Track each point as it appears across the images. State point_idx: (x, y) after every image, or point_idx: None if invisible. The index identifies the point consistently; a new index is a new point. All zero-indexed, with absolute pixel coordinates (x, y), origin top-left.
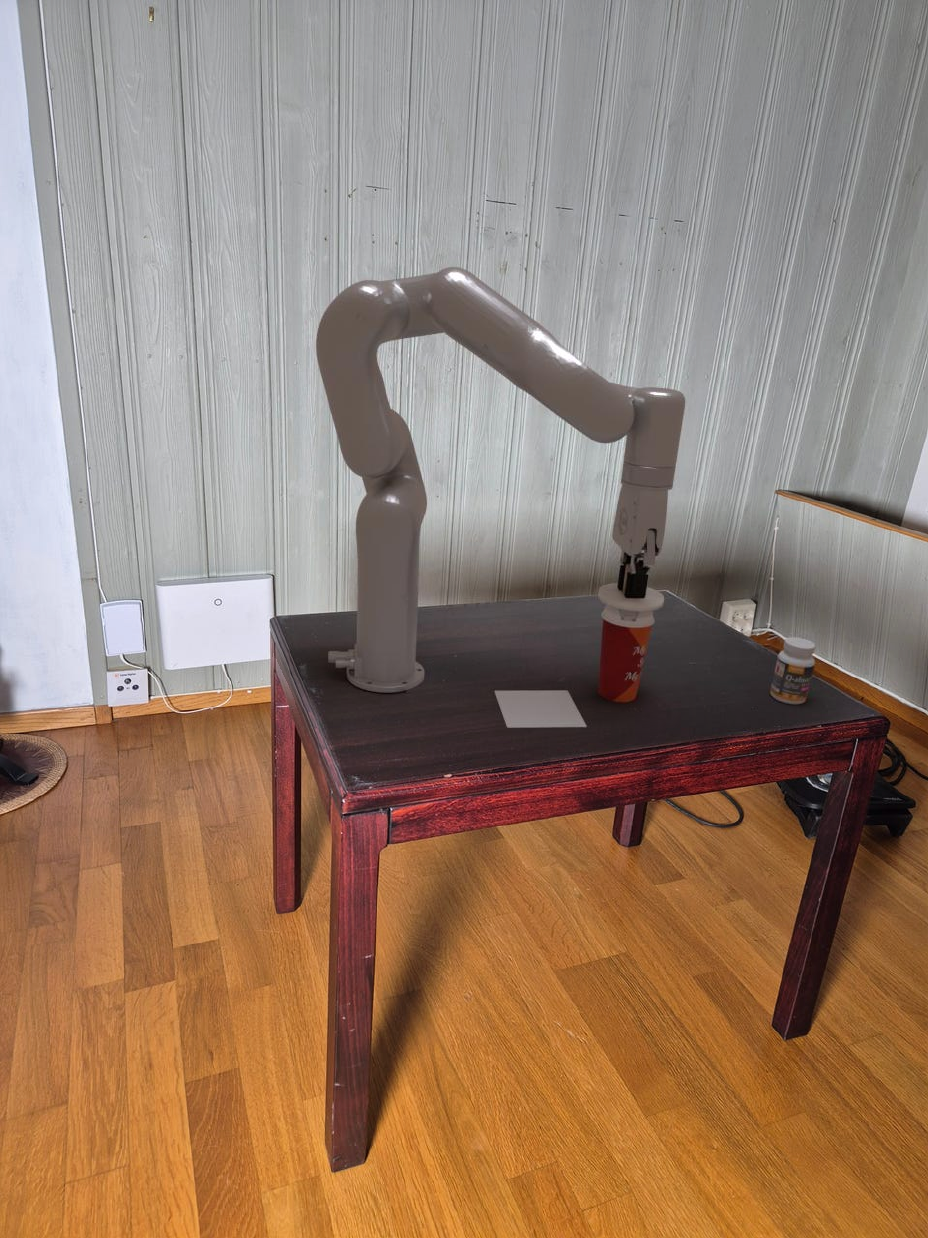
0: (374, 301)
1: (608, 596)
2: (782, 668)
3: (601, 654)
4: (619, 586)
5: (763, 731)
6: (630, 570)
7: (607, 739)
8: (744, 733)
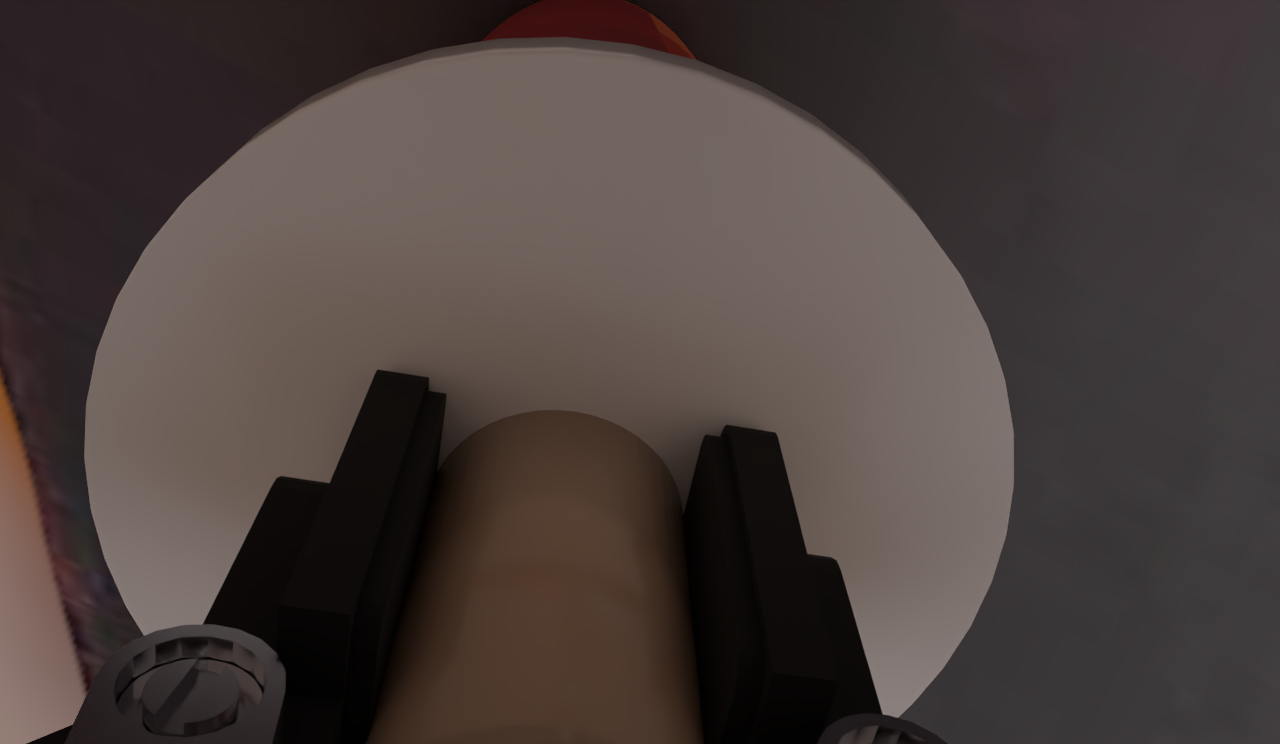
0: None
1: (471, 138)
2: None
3: (611, 29)
4: (715, 452)
5: (96, 659)
6: (259, 677)
7: None
8: (75, 570)
